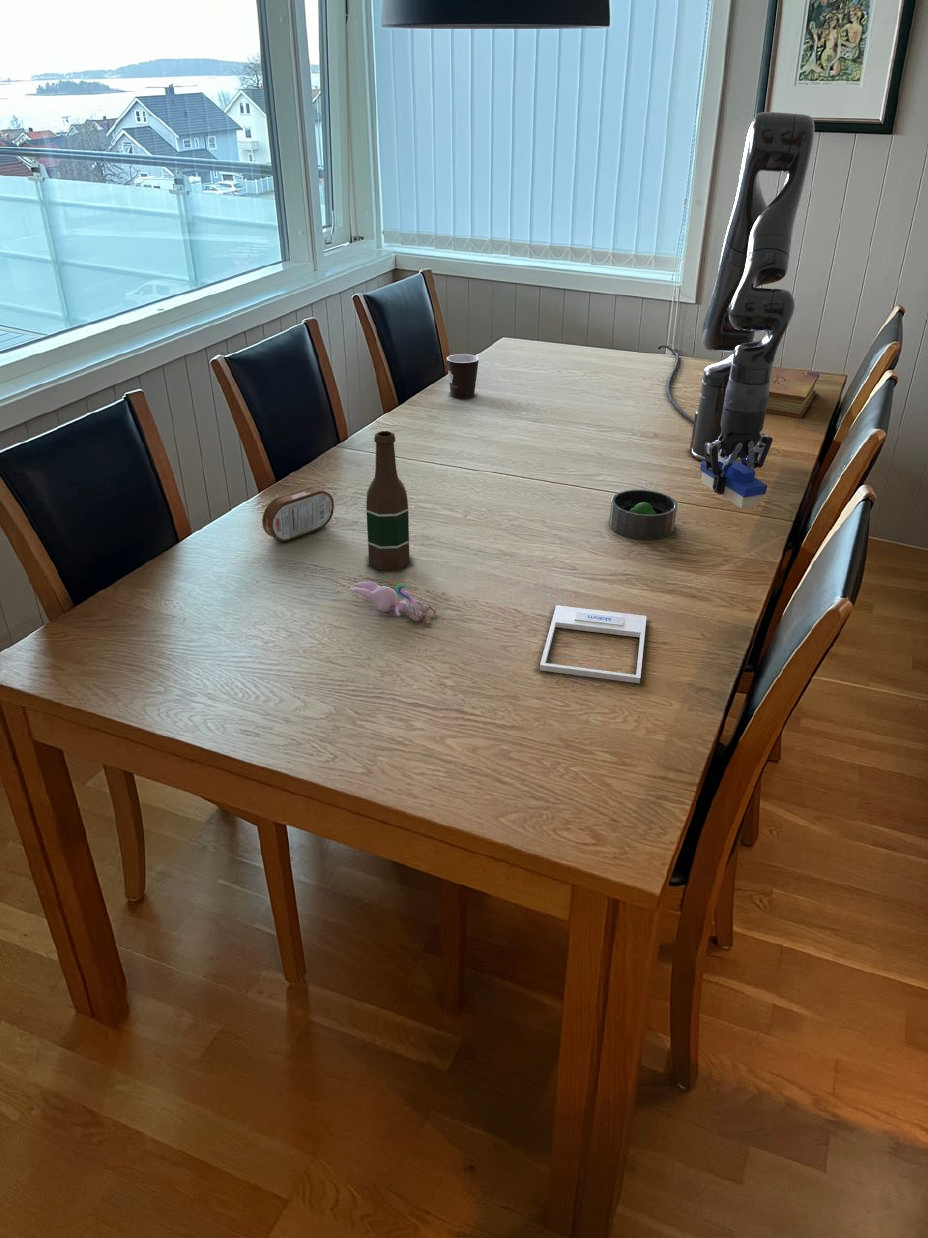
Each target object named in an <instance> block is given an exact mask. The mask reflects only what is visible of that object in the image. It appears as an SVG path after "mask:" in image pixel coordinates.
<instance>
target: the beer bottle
mask: <svg viewBox="0 0 928 1238" xmlns="http://www.w3.org/2000/svg"><path fill="white" fill-rule="evenodd" d="M396 441H397V440H396V434H395V433H394V432H391V431H389V430H382V431H378V432H375V433H374V438H373V442H374V443H375V471H374V477H373V478H372V480H371V482H370V483H369V485H368V488H367V491H366V510H365V511H366V527H367V547H368V549H367V550H368V561H369V565H370V567H372V568H374V569H376V570H379V571H381V572H383V571H385V572H386V571H398V570H399V571H400V570H401V569H403V568H404V567H407V566H409V564H410V524H409V519H410V518H409V501H408V492H407V489H406V486H405V484H404V483H403V482H402V480H401V479H400V477H399V475H398V471H397V462H396V453H395V452H396V451H395V442H396Z"/></svg>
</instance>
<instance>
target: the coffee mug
mask: <svg viewBox="0 0 928 1238" xmlns="http://www.w3.org/2000/svg"><path fill="white" fill-rule="evenodd" d="M479 361H480V358H479V357H478V356H476V355H474V354H467V353H457V354H451V355H448V356H447V357H446V365H447V366H446V367H447V375H448V383H449V391H450V397H452V398H454V399H459V400H465V399H472V398H473V397H475V392H476V391H475V390H476V384H477V377H478V369H479Z"/></svg>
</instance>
